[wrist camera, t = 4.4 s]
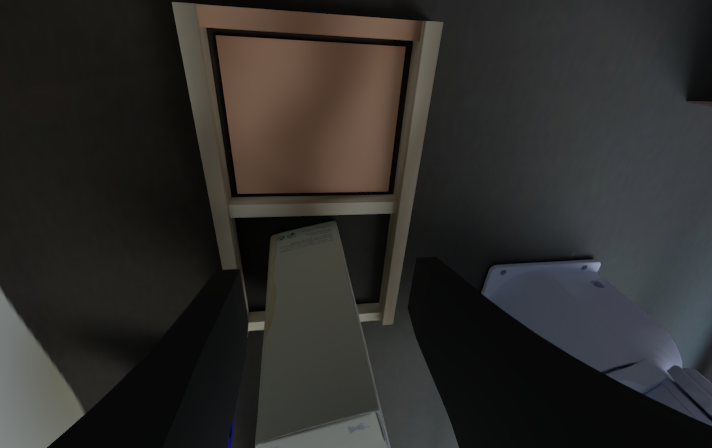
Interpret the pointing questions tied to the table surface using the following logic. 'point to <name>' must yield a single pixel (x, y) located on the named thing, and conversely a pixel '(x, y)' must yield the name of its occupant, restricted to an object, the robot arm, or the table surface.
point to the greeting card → (702, 103)
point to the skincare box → (315, 350)
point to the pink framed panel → (309, 122)
